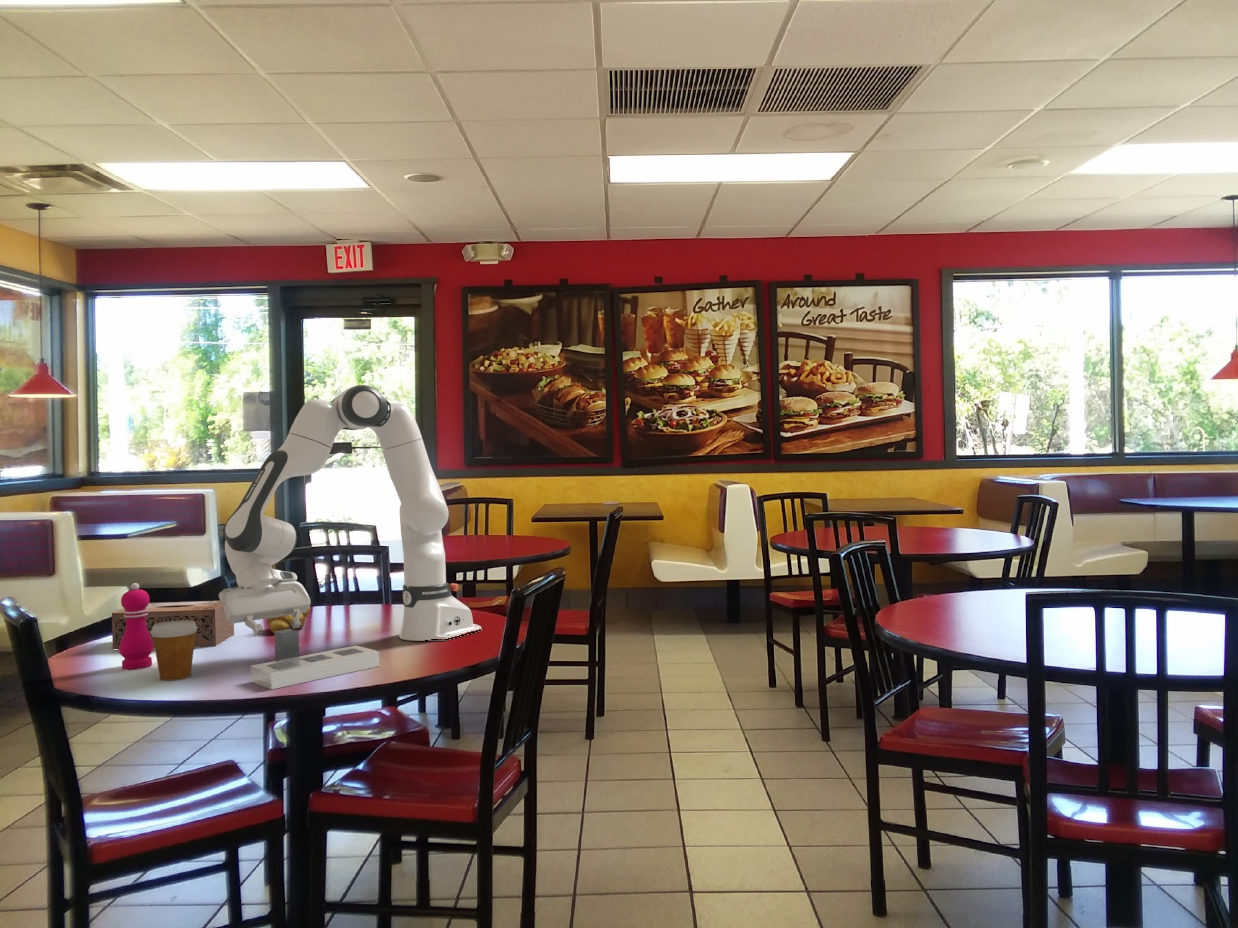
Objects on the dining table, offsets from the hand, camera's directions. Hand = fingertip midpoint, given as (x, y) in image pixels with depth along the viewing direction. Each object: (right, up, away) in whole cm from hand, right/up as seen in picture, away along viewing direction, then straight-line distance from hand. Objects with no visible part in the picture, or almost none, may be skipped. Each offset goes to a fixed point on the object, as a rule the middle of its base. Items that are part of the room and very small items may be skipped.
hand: (278, 629), depth 214 cm
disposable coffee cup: (-18, -9, -12) cm, 24 cm away
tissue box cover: (-37, -9, +26) cm, 46 cm away
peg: (+3, -8, -2) cm, 9 cm away
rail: (+13, -8, -12) cm, 20 cm away
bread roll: (-13, -8, +39) cm, 42 cm away
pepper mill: (-33, -9, -2) cm, 34 cm away
